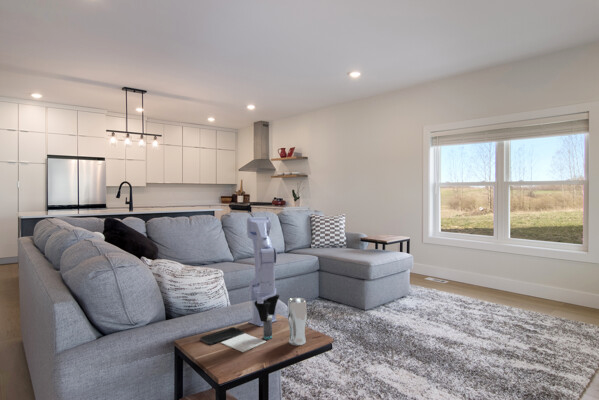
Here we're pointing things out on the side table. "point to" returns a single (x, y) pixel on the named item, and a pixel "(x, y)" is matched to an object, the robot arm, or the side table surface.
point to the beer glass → (297, 320)
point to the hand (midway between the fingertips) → (267, 317)
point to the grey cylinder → (267, 328)
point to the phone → (221, 336)
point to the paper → (243, 342)
